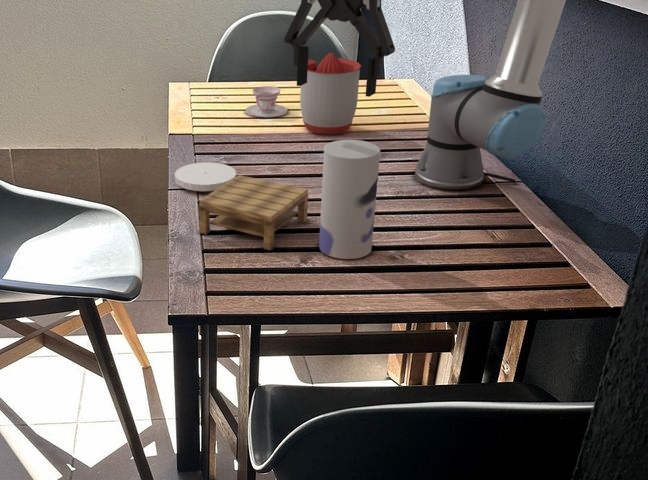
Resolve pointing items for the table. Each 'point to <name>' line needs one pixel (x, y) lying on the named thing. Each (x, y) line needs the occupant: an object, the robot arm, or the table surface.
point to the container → (348, 198)
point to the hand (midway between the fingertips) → (335, 89)
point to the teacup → (266, 103)
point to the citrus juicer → (330, 95)
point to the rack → (253, 207)
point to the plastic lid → (204, 176)
